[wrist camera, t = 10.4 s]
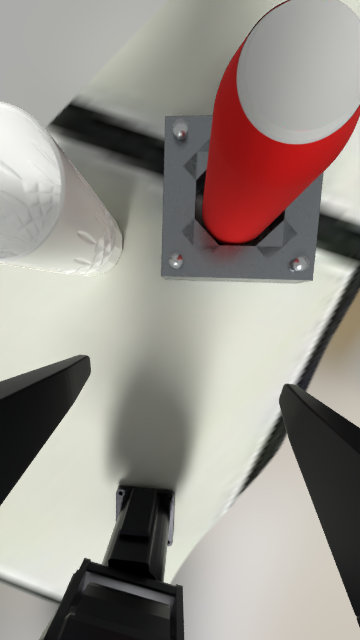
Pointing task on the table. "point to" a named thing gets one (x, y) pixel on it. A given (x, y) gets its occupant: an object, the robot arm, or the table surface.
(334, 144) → the beverage can
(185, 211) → the housing
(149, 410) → the table surface
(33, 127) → the white cup
